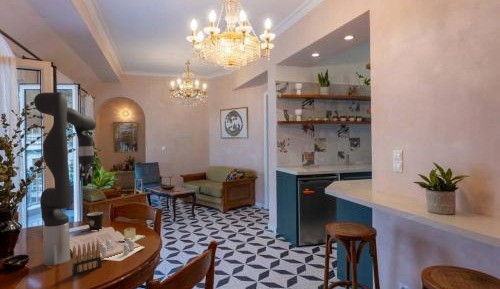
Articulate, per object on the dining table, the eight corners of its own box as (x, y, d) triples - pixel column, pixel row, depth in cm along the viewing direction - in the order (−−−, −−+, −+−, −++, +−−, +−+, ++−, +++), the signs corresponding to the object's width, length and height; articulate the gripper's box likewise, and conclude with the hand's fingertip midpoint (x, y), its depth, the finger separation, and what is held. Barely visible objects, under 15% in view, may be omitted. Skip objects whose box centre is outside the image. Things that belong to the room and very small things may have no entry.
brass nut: (130, 240, 162) (130, 230, 162) (122, 239, 164) (122, 230, 164) (137, 236, 168) (137, 227, 168) (129, 236, 169) (129, 227, 169)
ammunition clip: (100, 267, 131) (99, 239, 131) (101, 268, 130) (100, 240, 130) (72, 275, 124) (70, 245, 124) (73, 276, 123) (72, 246, 122)
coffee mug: (106, 229, 187) (106, 212, 187) (93, 233, 180) (92, 216, 179) (95, 226, 193) (95, 210, 193) (82, 230, 186) (81, 214, 185)
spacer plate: (120, 262, 135) (119, 250, 135) (87, 258, 141) (86, 247, 141) (145, 247, 153) (144, 237, 153) (115, 245, 158) (114, 235, 158)
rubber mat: (131, 244, 159) (131, 242, 159) (114, 242, 162) (114, 240, 162) (145, 237, 170) (144, 235, 170) (128, 235, 173) (128, 234, 173)
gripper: (90, 155, 160) (91, 186, 161) (97, 153, 174) (98, 182, 175) (74, 155, 159) (75, 187, 159) (82, 154, 172) (83, 183, 173)
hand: (87, 184), depth 167 cm, fingers open, 8 cm apart
